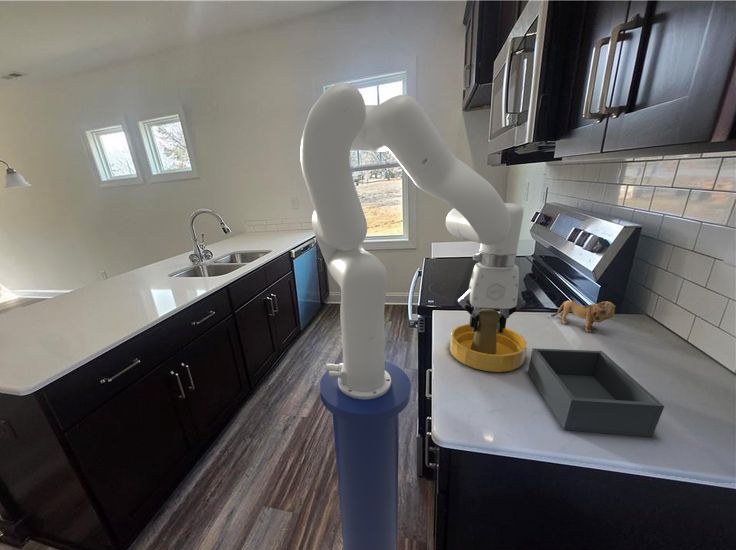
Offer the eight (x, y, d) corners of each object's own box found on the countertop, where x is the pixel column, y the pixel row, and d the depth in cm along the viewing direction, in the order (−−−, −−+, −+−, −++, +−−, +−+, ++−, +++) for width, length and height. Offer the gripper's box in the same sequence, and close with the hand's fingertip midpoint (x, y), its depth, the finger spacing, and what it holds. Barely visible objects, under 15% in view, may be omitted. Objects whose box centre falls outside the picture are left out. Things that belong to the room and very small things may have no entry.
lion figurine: (611, 331, 88) (620, 301, 85) (604, 337, 86) (613, 306, 82) (553, 315, 100) (559, 288, 96) (545, 320, 97) (551, 292, 94)
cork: (474, 355, 79) (479, 315, 75) (468, 343, 84) (472, 305, 80) (499, 356, 78) (506, 315, 74) (492, 344, 84) (498, 306, 80)
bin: (563, 429, 57) (571, 400, 54) (527, 373, 73) (532, 348, 70) (652, 437, 54) (664, 406, 52) (594, 376, 70) (601, 350, 68)
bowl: (455, 370, 76) (457, 354, 74) (446, 336, 91) (447, 322, 90) (534, 374, 72) (538, 357, 71) (510, 338, 88) (513, 323, 86)
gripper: (460, 263, 71) (452, 335, 77) (544, 263, 68) (529, 339, 74) (455, 255, 78) (448, 322, 84) (531, 255, 74) (518, 325, 81)
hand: (486, 329), depth 79 cm, fingers closed on cork, 5 cm apart
